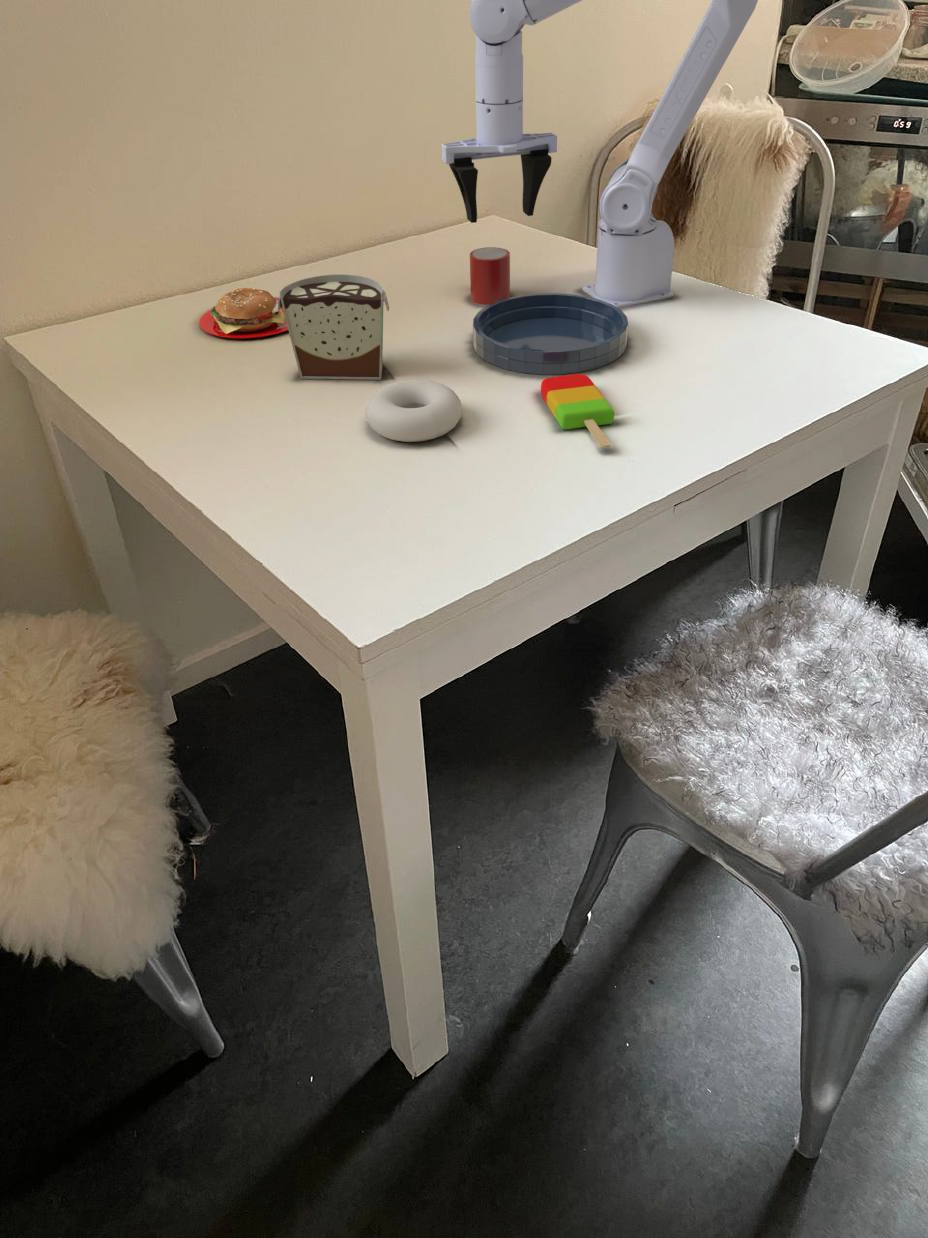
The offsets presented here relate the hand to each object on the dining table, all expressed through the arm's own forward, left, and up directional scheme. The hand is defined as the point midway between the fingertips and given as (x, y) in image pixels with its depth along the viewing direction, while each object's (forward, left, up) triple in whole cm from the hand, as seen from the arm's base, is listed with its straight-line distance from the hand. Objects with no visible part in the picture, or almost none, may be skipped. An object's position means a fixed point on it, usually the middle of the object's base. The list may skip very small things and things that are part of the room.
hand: (500, 217), depth 125 cm
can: (+3, +3, -9) cm, 10 cm away
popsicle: (+9, +39, -10) cm, 41 cm away
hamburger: (+33, -5, -10) cm, 35 cm away
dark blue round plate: (+3, +20, -9) cm, 22 cm away
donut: (+25, +32, -10) cm, 42 cm away
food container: (+27, +15, -10) cm, 32 cm away
